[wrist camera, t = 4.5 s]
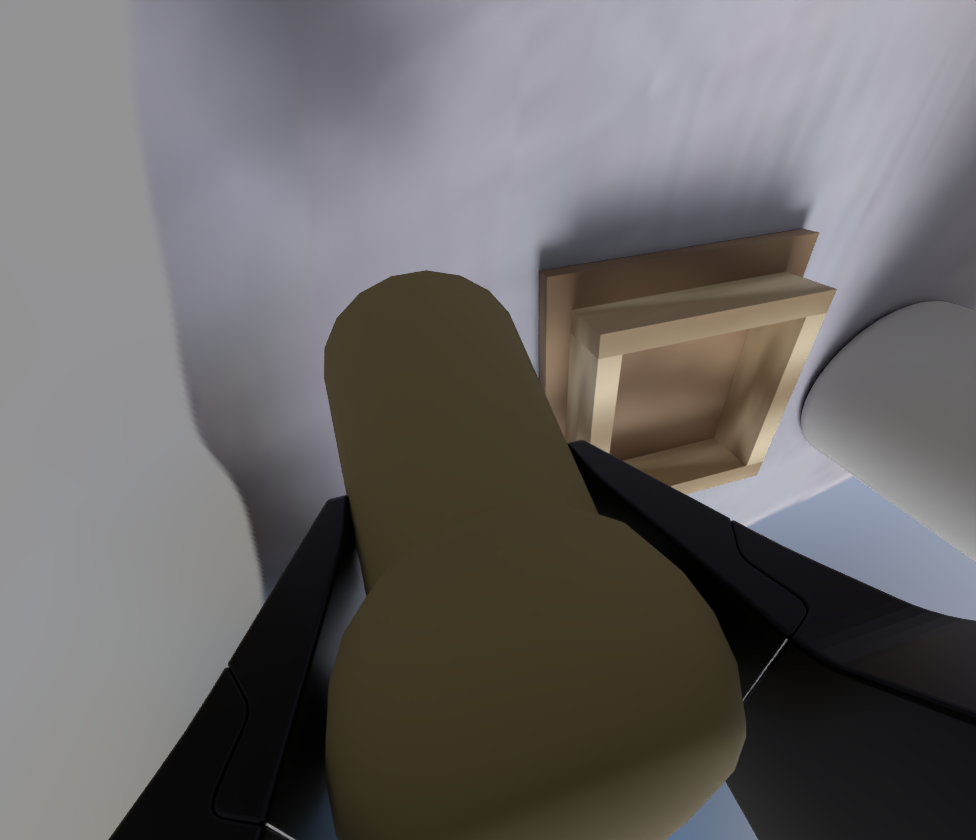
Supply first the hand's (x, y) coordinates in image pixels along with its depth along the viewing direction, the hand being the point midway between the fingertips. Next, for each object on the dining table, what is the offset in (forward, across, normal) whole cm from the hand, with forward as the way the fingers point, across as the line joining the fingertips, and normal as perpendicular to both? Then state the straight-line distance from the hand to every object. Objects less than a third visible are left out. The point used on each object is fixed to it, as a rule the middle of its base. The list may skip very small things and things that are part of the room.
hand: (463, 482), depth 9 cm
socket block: (+13, -14, +8) cm, 20 cm away
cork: (+5, 0, 0) cm, 5 cm away
